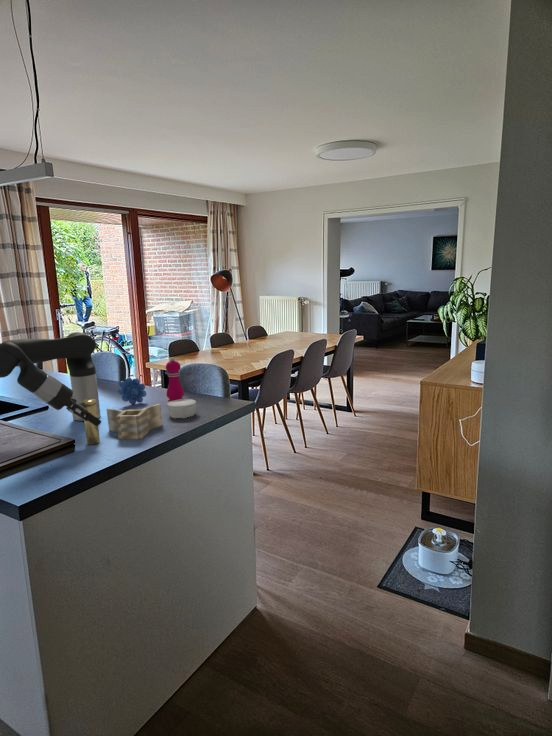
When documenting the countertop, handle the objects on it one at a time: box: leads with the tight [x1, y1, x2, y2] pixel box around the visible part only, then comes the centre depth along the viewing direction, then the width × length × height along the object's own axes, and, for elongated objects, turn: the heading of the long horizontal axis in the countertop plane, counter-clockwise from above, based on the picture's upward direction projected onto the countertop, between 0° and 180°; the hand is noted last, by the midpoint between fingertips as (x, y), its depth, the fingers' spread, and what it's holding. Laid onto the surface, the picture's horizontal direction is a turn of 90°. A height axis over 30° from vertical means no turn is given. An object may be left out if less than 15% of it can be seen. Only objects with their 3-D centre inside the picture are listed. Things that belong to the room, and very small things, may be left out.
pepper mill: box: [165, 356, 185, 403], centre depth 200 cm, size 7×7×20 cm
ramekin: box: [166, 398, 197, 419], centre depth 184 cm, size 11×11×5 cm
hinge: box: [106, 403, 164, 440], centre depth 166 cm, size 18×15×8 cm
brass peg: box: [82, 399, 101, 445], centre depth 155 cm, size 4×4×14 cm
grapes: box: [117, 376, 147, 405], centre depth 202 cm, size 12×7×12 cm, turn 122°
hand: (97, 422), depth 156 cm, fingers closed on brass peg, 4 cm apart
